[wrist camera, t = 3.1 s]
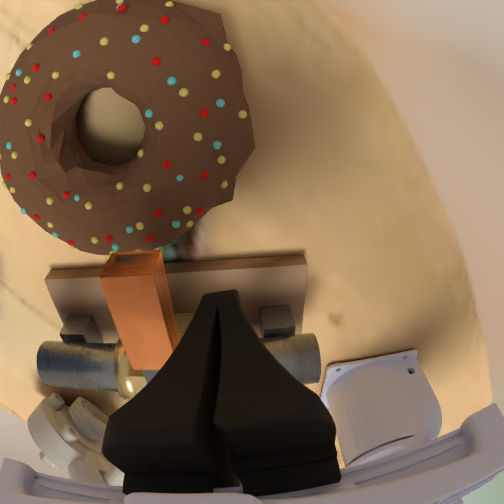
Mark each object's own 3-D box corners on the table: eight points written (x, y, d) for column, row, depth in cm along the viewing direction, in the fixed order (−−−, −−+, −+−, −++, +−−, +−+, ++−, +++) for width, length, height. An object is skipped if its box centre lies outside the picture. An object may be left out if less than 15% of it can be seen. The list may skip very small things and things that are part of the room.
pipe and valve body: (305, 292, 21) (329, 364, 16) (300, 340, 24) (318, 409, 18) (54, 304, 20) (21, 367, 15) (75, 347, 23) (52, 410, 17)
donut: (128, 266, 21) (109, 315, 17) (-5, 129, 15) (-53, 150, 10) (303, 125, 17) (330, 143, 13) (150, -43, 11) (128, -77, 7)
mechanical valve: (17, 405, 25) (44, 506, 14) (113, 293, 32) (182, 349, 21) (83, 445, 31) (135, 532, 20) (168, 347, 38) (249, 407, 27)
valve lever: (206, 412, 17) (206, 440, 15) (166, 412, 17) (163, 440, 15) (169, 243, 11) (160, 274, 10) (108, 248, 11) (92, 278, 10)
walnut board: (303, 254, 21) (307, 264, 20) (295, 348, 26) (298, 359, 25) (50, 270, 20) (44, 279, 19) (88, 355, 25) (84, 365, 24)
